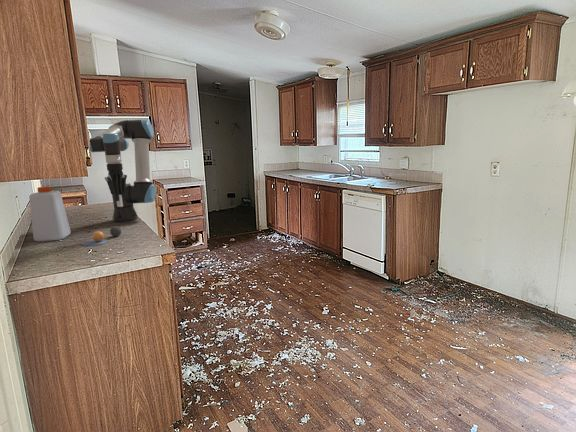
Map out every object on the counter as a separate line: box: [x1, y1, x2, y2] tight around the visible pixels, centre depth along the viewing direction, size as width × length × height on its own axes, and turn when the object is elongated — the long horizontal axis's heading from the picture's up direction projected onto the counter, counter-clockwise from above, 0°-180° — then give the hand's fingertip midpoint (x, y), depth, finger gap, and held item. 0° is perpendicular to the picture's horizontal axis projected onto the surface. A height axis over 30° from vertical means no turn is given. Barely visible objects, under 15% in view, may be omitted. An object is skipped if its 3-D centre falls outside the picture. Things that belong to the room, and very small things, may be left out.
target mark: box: [81, 238, 109, 247], centre depth 184 cm, size 12×12×1 cm
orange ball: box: [92, 230, 105, 242], centre depth 185 cm, size 6×6×6 cm
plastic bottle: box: [28, 185, 72, 243], centre depth 194 cm, size 15×15×28 cm
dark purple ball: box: [109, 225, 122, 237], centre depth 195 cm, size 6×6×6 cm
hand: (120, 206), depth 197 cm, fingers closed
